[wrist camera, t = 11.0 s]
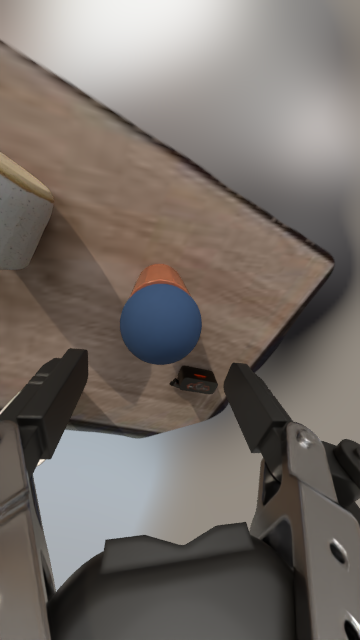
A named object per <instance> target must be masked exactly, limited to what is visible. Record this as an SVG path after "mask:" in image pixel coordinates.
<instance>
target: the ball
mask: <svg viewBox="0 0 360 640" xmlns="http://www.w3.org/2000/svg"><path fill="white" fill-rule="evenodd" d="M201 327H202V322H201V315H200V311H199V309H198V306H197V304H196V303H195V301H194V300H193V299H192V297H191V296H190V295H189V294H188V293H186V292H185V291H184V290H182V289H180V288H178V287H176V286H173V285H169V284H152V285H149V286H146V287H144V288H142V289H140V290H138V291H137V292H135V293H134V294H133V295H132V296H131V297H130V298H129V300H128V301H127V303H126V304H125V306H124V308H123V311H122V314H121V318H120V330H121V335H122V338H123V341H124V343H125V345H126V346H127V347H128V349H129V350H130V351H131V352H132V353H133V354H134V355H135V356H136V357H138V358H139V359H141V360H143V361H145V362H147V363H151V364H157V365H164V364H171V363H174V362H177V361H179V360H181V359H183V358H184V357H185V356H187V355H188V354H189V353H190V352H191V351H192V350H193V348H194V347H195V345H196V344H197V342H198V340H199V337H200V333H201Z"/></svg>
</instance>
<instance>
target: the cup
mask: <svg viewBox="0 0 360 640" xmlns="http://www.w3.org/2000/svg"><path fill="white" fill-rule="evenodd" d="M152 284H169V285H173V286H176V287H178V288H180V289H182V290H184V291H185V292H186V293H188V294H189V295H190V293H189V291H188V290H187V288H186V286H185V284H184V282H183V281H182V279H181V277H180V276H179V274H178V273H177V271H175V270H174V269H173V268H172V267H170V266H167V265H164V264H154V265H151V266H149V267H147V268H146V269H144V270H143V271H142V272H141V274H140V276H139V278H138V279H137V281H136V284H135V286H134V288H133V290H132V292H131V295H130V297H131V296H132V295H133V294H134V293H135V292H137V291H138V290H140V289H142V288H144V287H146V286H149V285H152ZM190 296H191V295H190ZM130 297H129V298H130ZM128 300H129V299H128Z"/></svg>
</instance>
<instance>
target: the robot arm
mask: <svg viewBox="0 0 360 640" xmlns="http://www.w3.org/2000/svg"><path fill="white" fill-rule="evenodd" d="M87 379H88V351H87V350H84V349H72V348H70V349H68V350H67V352H66V353H65V354H64V356H63V357H62V358H54V359H52V360H51V361H49V362H47V363H46V364H44V365H43V366H42V367H41V368H40V369H39V371H38V372H37V373H36V374H35V376H33V377H32V379H31V380H30V381H29V382H28V384H26V385H25V387H24V388H23V389H22V390H21V391H20V392H19V394H18V395H17V396H16V397H15V398H14V399H13V400H12V402H11V403H10V404H9V405H8V406H7V407H6V408H5V410H4V411H3V412H2V413H1V414H0V640H360V508H359V507H358V505H357V504H356V503H355V501H356V500H358V499H359V498H360V444H358V443H356V442H354V441H351V440H348V439H344V440H342V441H341V442H340V443H339V444H338V445H337V446H335V445H333V444H329V443H327V442H324V441H321V440H320V439H319V438H318V437H317V436H316V435H315V434H314V433H313V432H312V431H311V430H310V429H308V428H307V427H306V426H304V425H302V424H299V423H297V422H293V421H292V420H291V418H290V417H289V415H288V414H287V413H286V411H285V410H284V409H283V407H282V406H281V404H280V403H279V402H278V400H277V399H276V398H275V396H273V394H272V392H271V391H270V390H269V389H268V387H267V386H266V384H265V383H264V381H263V380H262V379H261V378H260V377H258V376H257V375H256V374H255V373H253V372H252V370H251V369H250V367H249V366H248V365H247V364H243V363H232V365H231V367H230V369H229V372H228V374H227V376H226V379H225V381H224V392H225V394H226V397H227V399H228V401H229V403H230V405H231V408H232V410H233V412H234V414H235V417H236V419H237V421H238V424H239V426H240V428H241V431H242V433H243V435H244V437H245V440H246V442H247V444H248V446H249V449H250V451H251V453H261V454H262V456H263V459H262V461H261V467H260V478H259V490H258V500H257V508H256V512H255V515H254V518H253V520H252V523H251V527H250V532H249V530H248V527H247V524H246V522H243V523H234V524H226V525H218V526H215V527H213V528H212V529H210V530H209V531H207V532H205V533H203V534H202V535H200V536H199V537H197V538H196V539H194V540H193V541H191V542H189V543H187V544H186V545H178V544H174V543H171V542H167V541H164V540H160V539H157V538H153V537H150V536H147V535H140V536H133V537H124V538H117V539H109V540H106V541H105V548H104V551H103V552H101V553H100V554H98V555H96V556H94V557H93V558H91V559H90V560H89V561H87V562H86V563H84V564H83V565H82V566H81V567H80V568H79V569H78V570H76V571H75V572H74V573H73V574H72V575H71V576H70V577H69V578H68V579H67V580H66V582H65V583H64V584H63V585H62V586H61V587H60V588H59V589H58V590H57V592H56V589H55V584H54V579H53V574H52V568H51V563H50V558H49V553H48V549H47V544H46V541H45V536H44V531H43V526H42V521H41V516H40V510H39V505H38V500H37V494H36V489H35V484H34V478H33V472H34V470H35V468H36V466H37V464H38V462H39V460H40V459H51V458H52V456H53V454H54V451H55V449H56V447H57V445H58V443H59V441H60V439H61V436H62V434H63V432H64V430H65V428H66V426H67V424H68V422H69V419H70V417H71V415H72V413H73V411H74V409H75V407H76V405H77V402H78V400H79V398H80V396H81V394H82V392H83V390H84V388H85V385H86V383H87Z"/></svg>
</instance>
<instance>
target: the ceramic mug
mask: <svg viewBox="0 0 360 640" xmlns="http://www.w3.org/2000/svg"><path fill="white" fill-rule="evenodd" d="M53 205H54V198H53V196H52V194H51V192H50V190H49V189H48V188H47V187H46V186H45V185H43V184H42V183H41V182H40V181H39V180H37V179H36V178H35V177H34V176H32V175H31V174H30V173H28V172H27V171H26V170H24V169H23V168H22V167H20V166H19V165H18V164H16V163H15V162H14V161H12V160H11V159H9V158H8V157H7V156H5V155H4V154H2V153H1V152H0V269H3V270H19V269H23V268H25V267H27V266H28V265H29V263H30V260H31V258H32V256H33V254H34V252H35V250H36V248H37V245H38V243H39V241H40V238H41V236H42V234H43V231H44V229H45V227H46V225H47V223H48V221H49V219H50V217H51V214H52V209H53Z"/></svg>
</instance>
